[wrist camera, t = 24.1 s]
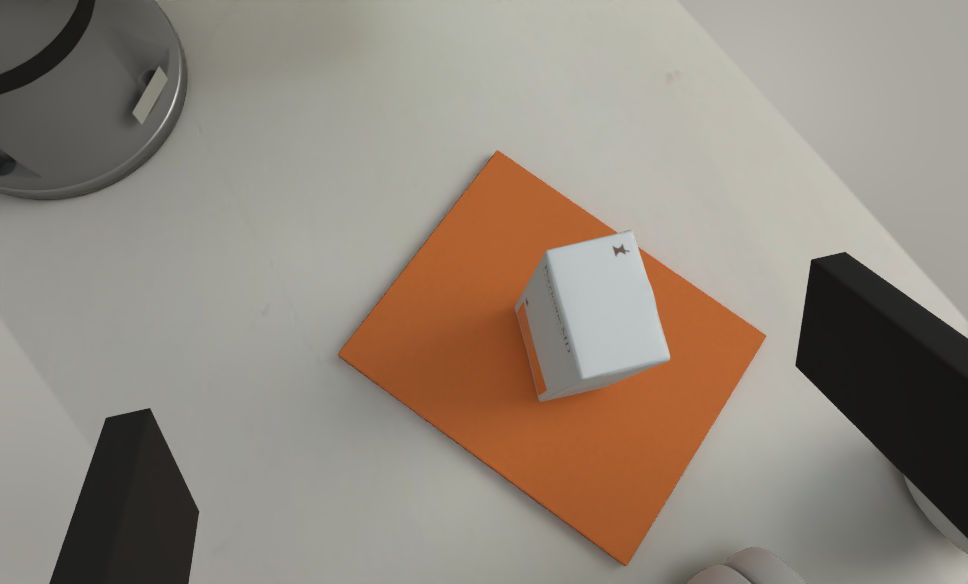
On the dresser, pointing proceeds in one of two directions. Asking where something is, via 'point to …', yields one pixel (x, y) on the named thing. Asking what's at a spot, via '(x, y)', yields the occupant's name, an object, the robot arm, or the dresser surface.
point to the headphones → (769, 580)
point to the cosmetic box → (590, 317)
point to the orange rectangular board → (507, 372)
